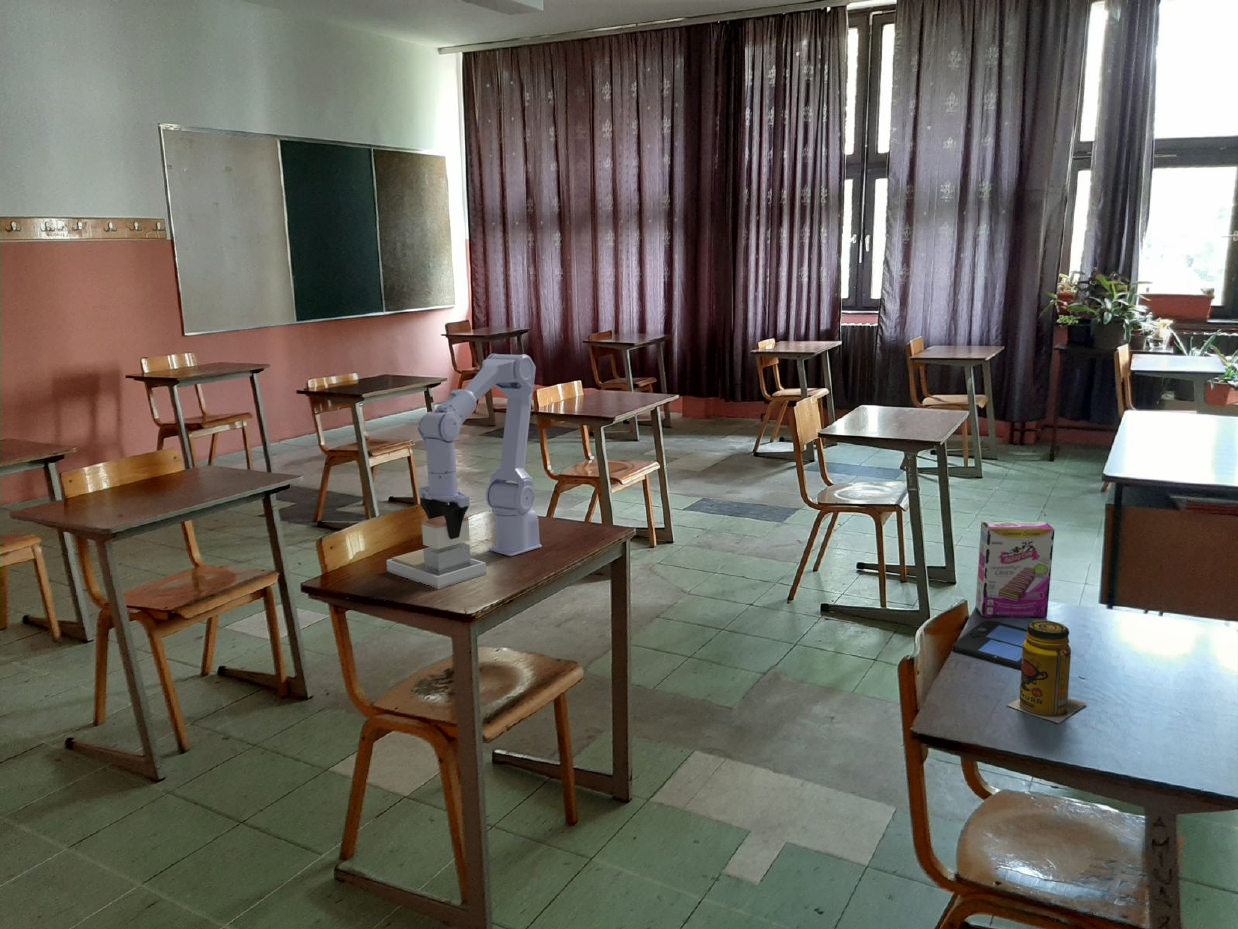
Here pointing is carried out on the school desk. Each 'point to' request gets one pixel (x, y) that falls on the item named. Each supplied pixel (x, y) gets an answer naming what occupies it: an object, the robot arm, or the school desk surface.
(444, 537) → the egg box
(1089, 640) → the school desk surface
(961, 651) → the game console
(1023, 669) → the condiment
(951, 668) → the school desk surface
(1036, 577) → the candy bar box
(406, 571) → the tray
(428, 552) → the steel block
